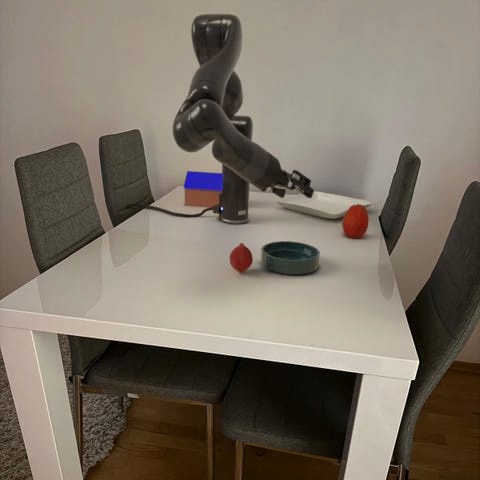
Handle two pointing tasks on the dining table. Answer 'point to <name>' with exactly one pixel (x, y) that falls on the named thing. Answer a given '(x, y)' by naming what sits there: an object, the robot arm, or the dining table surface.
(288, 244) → the bowl
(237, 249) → the red lemon
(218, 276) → the dining table surface
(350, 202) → the square plate
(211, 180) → the house
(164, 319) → the dining table surface
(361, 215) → the red egg
